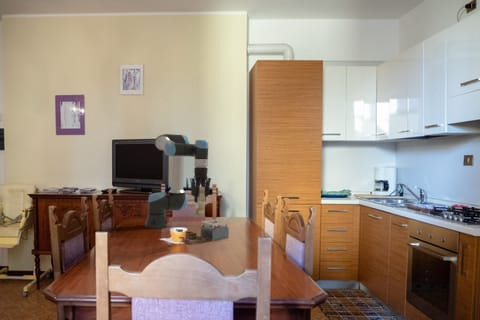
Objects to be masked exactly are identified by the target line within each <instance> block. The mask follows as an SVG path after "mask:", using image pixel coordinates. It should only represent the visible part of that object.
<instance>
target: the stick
mask: <svg viewBox="0 0 480 320" xmlns="http://www.w3.org/2000/svg"><path fill="white" fill-rule="evenodd" d="M198 197H199V208H195V215H196V216H204V215H205V208H204V197H205V187H201V186H200V187H199V193H198Z"/></svg>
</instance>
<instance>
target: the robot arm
mask: <svg viewBox="0 0 480 320" xmlns="http://www.w3.org/2000/svg"><path fill="white" fill-rule="evenodd" d="M208 141H209V140H207V139H197V140H195V141H194V143H190V140H189V137H188V136H187V135H184V134H172V133H171V134H169V133H165V134H159V135H158V136H157V137H156V138H155V140H154V146H155V147H156V148H157V149H158V150H159V151H163V152H164V155H165V156H170V157H171V179H170V181H171V183H170V190H169V191H168V193H166V192H165V191H162V192H161V191H160V192H159V191H158V192H154V193H150V194H149V195H148V201H147V202H148V204H147V205H148V207H147V208H148V211H147V218H146V221H145V222H144V225H145V226H144V227H145V228H147V229H165V228H167V227H168V226H169V225H168V219H167V216H166V212H167V211H168V212H170V211H171V212H172V211H178V212H179V211H184V210H185V209H186V208H187V205H188V200H189V199H188V197H189V196H188V194H187V193H186V191H185V190H184V177H185V176H184V174H185V157H192V158H194V169H193V170H194V171H193V172H194V176H193V177H192V178H191V177H190V178H189V181H190V195H191V196H193V198H194V201H193V202H194V208H195V209H196V208H199V197H198V193H199V187H205V197H204V209H205V208H206V202H207V201H206V200H207V197H208V195H209V194H210V187H211V186H210V184H211V181H212V178H211V177H208V161H209V160H208V159H209V142H208Z"/></svg>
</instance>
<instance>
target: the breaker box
mask: <svg viewBox="0 0 480 320" xmlns="http://www.w3.org/2000/svg"><path fill="white" fill-rule="evenodd" d="M200 223H201V226H200V236H199V237H202V238H205V239H206V240H209V241H212V242H214V241H218V240H225V239H229V236H230V235H229V232H230V230H229V227H228V225H229V223H230V222H228V221H224V220H220V219H217V218H216V219H209V220H202V221H200ZM215 225H218V228H214V226H215Z"/></svg>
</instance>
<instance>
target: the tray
mask: <svg viewBox="0 0 480 320" xmlns="http://www.w3.org/2000/svg"><path fill="white" fill-rule="evenodd" d="M182 242H185V243H187V244H190V245H196V244H202V243H203V244H204V243H206V242H207V239H206V238H203V237H200V236H199V235H196V236H191V237H185V238H182Z"/></svg>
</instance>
